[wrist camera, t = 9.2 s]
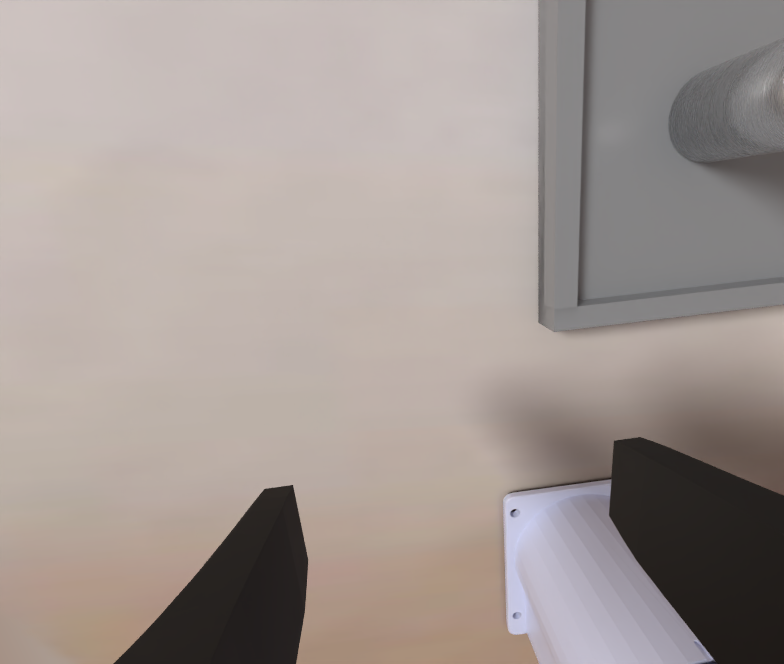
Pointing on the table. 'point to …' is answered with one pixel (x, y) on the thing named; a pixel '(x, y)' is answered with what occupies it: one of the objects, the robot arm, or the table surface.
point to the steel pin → (732, 108)
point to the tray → (648, 167)
